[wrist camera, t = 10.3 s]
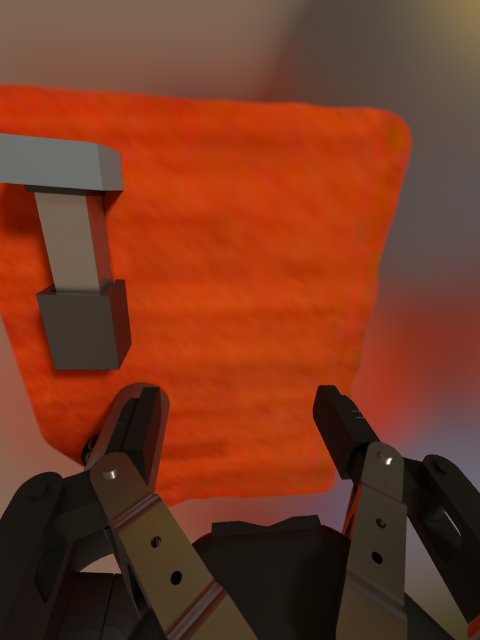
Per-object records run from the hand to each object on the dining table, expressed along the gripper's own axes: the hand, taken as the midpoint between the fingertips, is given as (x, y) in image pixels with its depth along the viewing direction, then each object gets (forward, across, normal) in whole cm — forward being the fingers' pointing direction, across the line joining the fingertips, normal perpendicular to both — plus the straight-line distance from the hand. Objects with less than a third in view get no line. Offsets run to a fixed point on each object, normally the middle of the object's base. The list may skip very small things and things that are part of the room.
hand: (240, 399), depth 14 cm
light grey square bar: (+28, +17, -3) cm, 33 cm away
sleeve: (+28, +17, +8) cm, 34 cm away
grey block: (+28, +17, -11) cm, 35 cm away
